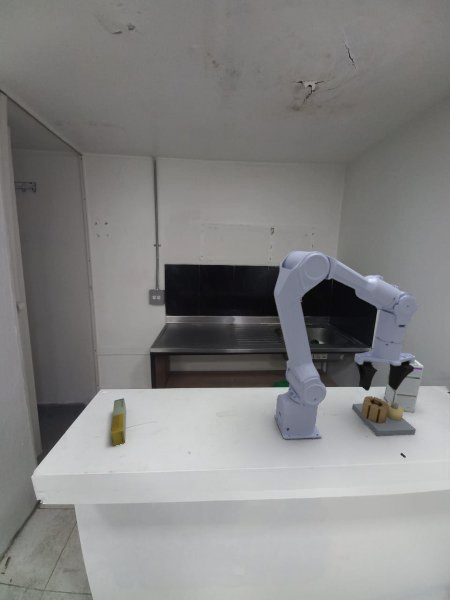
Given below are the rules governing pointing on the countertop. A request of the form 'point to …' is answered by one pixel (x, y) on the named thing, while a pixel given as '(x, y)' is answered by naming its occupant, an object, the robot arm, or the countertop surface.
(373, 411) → the brown segmented ring
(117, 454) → the countertop surface
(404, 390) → the syrup box
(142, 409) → the countertop surface
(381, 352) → the robot arm
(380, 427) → the carrier plate
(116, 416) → the medication box
